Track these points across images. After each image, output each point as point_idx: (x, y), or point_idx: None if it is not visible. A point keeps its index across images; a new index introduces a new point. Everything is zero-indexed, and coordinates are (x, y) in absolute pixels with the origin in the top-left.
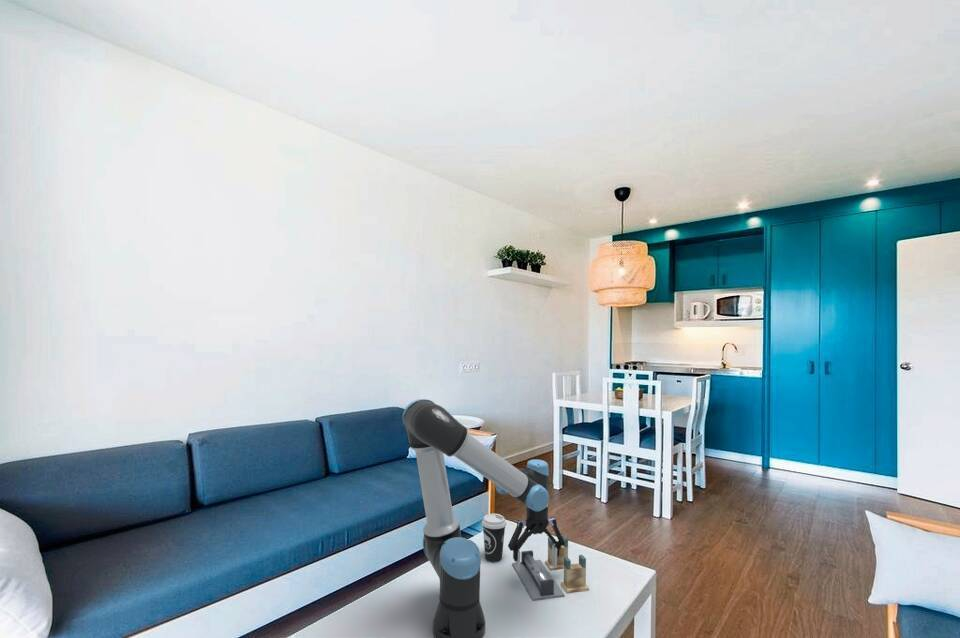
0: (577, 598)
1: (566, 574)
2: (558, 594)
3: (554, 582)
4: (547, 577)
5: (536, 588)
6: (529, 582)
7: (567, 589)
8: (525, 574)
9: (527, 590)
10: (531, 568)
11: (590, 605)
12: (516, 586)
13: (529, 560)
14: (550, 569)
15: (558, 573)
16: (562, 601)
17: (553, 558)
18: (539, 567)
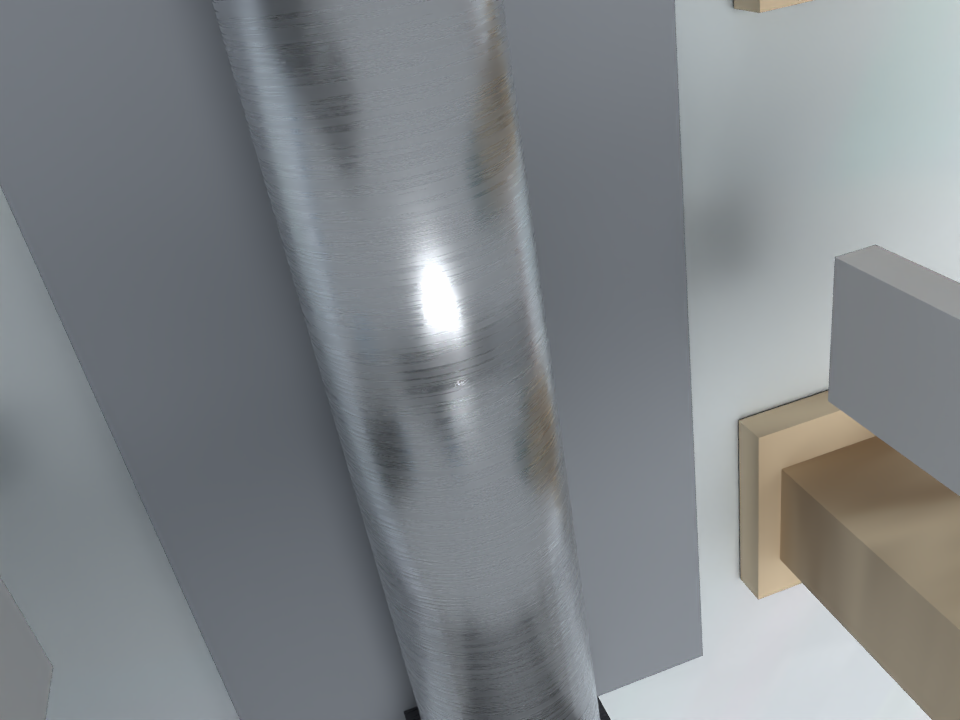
0: (809, 635)
1: (907, 671)
2: (633, 667)
3: (671, 439)
4: (608, 323)
5: (367, 618)
6: (266, 496)
7: (775, 572)
8: (199, 257)
9: (217, 664)
10: (348, 415)
11: (873, 702)
12: (15, 567)
13: (337, 165)
14: (744, 6)
15: (826, 118)
16: (636, 715)
17: (948, 405)
18: (534, 457)
